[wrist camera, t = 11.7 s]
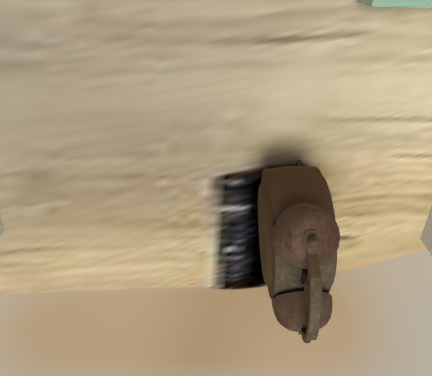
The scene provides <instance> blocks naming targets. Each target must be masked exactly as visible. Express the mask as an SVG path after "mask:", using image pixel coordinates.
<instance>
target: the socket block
mask: <svg viewBox="0 0 432 376" xmlns="http://www.w3.org/2000/svg"><path fill="white" fill-rule="evenodd" d="M356 1H359V2H361V3H364V4H366V5H369V6H371V7H412V8H432V0H356Z"/></svg>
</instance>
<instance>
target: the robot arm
mask: <svg viewBox="0 0 432 376" xmlns="http://www.w3.org/2000/svg"><path fill="white" fill-rule="evenodd" d="M3 231H4V228H3V225H2V221H1V218H0V235H1V234H2V233H3ZM420 239H421V240H422V242H423V243H424V245H425V246H426V247H427V249H428V250H429V252H430V253H431V255H432V207H431V210H430V213H429V216H428V218H427V221H426V224H425V227H424V229H423V232H422V235H421V237H420Z"/></svg>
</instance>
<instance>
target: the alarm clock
mask: <svg viewBox="0 0 432 376" xmlns="http://www.w3.org/2000/svg"><path fill="white" fill-rule="evenodd" d="M296 165H297V166H283V167H277V168H270V169H269V167H268V166H265V167H264V169H263V172H262V179H261V184H260V186H259V189H258V228H259V244H260V256H261V265H262V272H263V278H264V281H265V283H266V284H267V285H268V290H269V295H270V298H271V299H272V305H273V310H274V313H275V316H276V318H277V320H278V322H279V323H280V324H281V325H282V326H284V327H285V328H287V329H288V330H292V331H296V332H299V334H302V339H303V341H304V342H305V343H309V342H310V341H311V340H316V339H317V336H318V332H319V329H320V328H322V327H323V326H325V325H326V324H327V322H328V321H329V319H330V317H331V313H332V296H331V295H330V294H329V291H330V288H331V286H332V284H333V282H334V277H335V272H336V263H337V249H338V247H339V241H340V233H339V227H338V225H337V223H336V221H335V215H334V209H333V203H332V199H331V194H330V191H329V188H328V185H327V182H326V180H325V179H324V177H323V176H322V174H321V172H320V171H319V169H318V168H316V167H304V166H301V161H300V160H298V161H297V162H296Z"/></svg>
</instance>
